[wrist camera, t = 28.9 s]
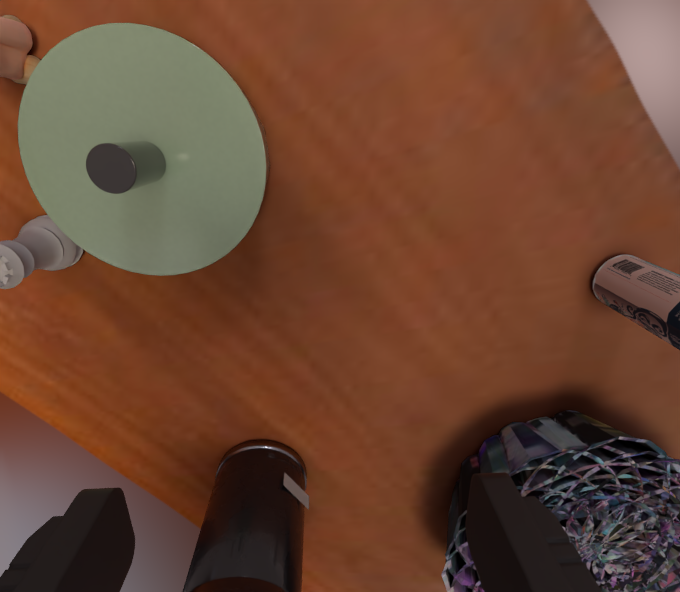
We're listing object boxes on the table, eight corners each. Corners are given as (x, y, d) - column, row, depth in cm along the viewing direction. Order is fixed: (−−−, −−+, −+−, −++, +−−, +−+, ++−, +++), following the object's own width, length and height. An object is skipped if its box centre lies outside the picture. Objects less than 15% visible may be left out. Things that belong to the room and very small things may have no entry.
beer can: (580, 296, 39) (684, 363, 28) (603, 247, 38) (724, 298, 26) (625, 307, 40) (745, 376, 29) (651, 259, 38) (788, 313, 27)
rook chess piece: (91, 266, 36) (32, 302, 29) (37, 266, 36) (-38, 302, 28) (80, 213, 34) (14, 237, 27) (23, 213, 34) (-60, 237, 27)
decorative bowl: (489, 347, 43) (528, 405, 33) (723, 428, 45) (819, 502, 36) (393, 525, 51) (402, 610, 42) (594, 584, 54) (645, 677, 45)
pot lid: (188, 309, 32) (161, 347, 26) (-12, 177, 28) (-94, 189, 22) (314, 144, 28) (313, 148, 22) (102, -38, 24) (38, -88, 18)
